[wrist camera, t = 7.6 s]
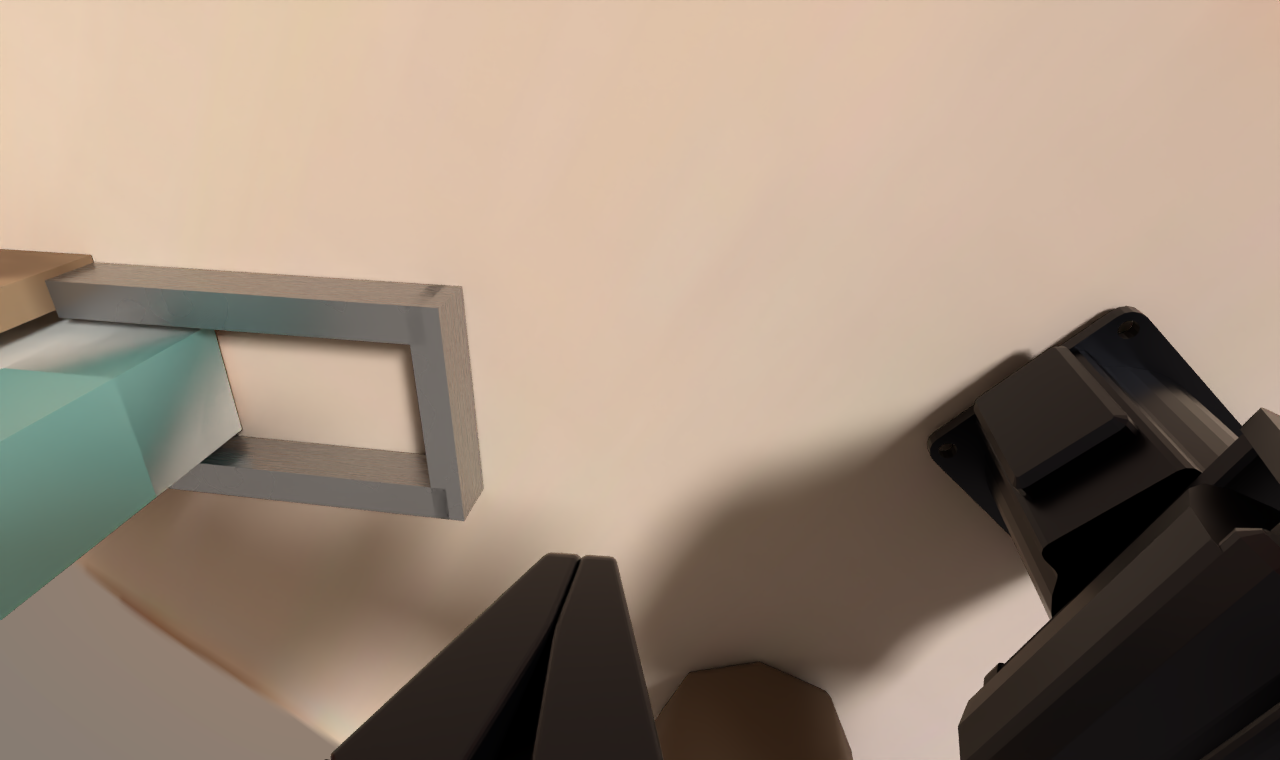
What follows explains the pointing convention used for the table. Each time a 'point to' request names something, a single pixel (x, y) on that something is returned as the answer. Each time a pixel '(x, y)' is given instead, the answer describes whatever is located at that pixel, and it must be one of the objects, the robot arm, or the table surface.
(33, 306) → the socket
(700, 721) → the beer bottle
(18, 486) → the teal block
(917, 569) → the table surface
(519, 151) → the table surface
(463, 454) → the rails
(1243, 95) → the table surface
